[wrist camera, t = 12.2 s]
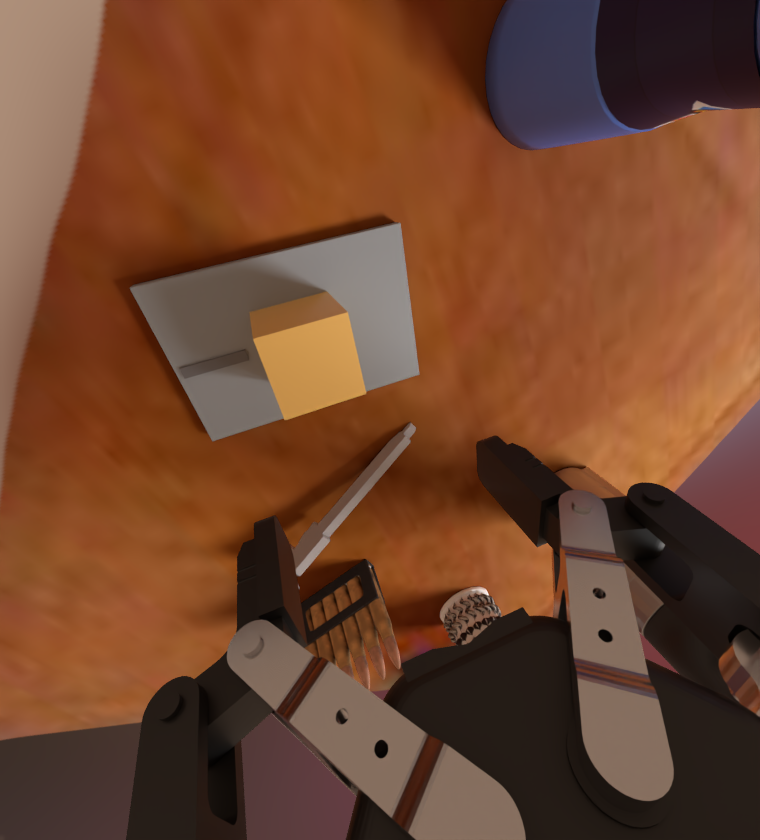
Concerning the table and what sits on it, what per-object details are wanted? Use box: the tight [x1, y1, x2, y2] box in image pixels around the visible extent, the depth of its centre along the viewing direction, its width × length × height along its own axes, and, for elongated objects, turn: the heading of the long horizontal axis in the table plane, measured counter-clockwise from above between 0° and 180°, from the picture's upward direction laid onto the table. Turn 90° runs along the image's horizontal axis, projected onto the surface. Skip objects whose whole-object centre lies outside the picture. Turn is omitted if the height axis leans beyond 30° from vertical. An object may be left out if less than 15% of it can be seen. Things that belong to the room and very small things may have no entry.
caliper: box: [290, 422, 416, 588], centre depth 35 cm, size 20×1×6 cm, turn 130°
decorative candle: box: [440, 586, 501, 646], centre depth 47 cm, size 9×9×25 cm
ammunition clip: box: [301, 559, 400, 690], centre depth 40 cm, size 11×2×12 cm, turn 120°
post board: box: [130, 222, 419, 441], centre depth 26 cm, size 18×12×6 cm, turn 100°
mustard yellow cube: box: [249, 291, 366, 420], centre depth 25 cm, size 6×6×6 cm
